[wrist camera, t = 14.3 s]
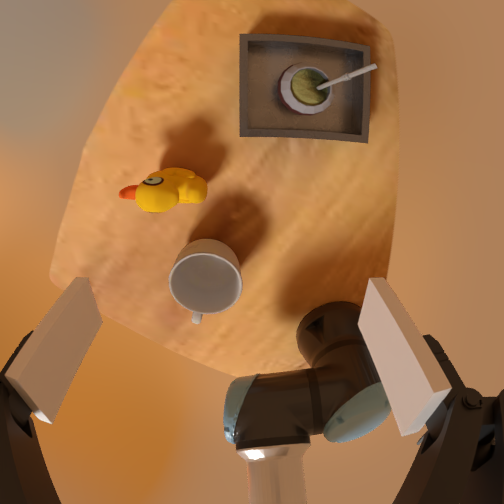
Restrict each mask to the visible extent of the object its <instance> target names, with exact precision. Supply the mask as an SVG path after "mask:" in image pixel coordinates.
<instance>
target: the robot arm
mask: <svg viewBox="0 0 504 504" xmlns="http://www.w3.org/2000/svg"><path fill="white" fill-rule="evenodd" d="M102 323H103V321H102V318H101V315H100V312H99V310H98V307H97V304H96V301H95V298H94V295H93V291H92V288H91V285H90V282H89V278H85V277H76V278H75V279H74V280H73V281H72V283H71V284H70V285H69V286H68V287H67V289H66V290H65V291H64V292H63V294H62V295H61V296H60V297H59V299H58V300H57V301H56V303H55V304H54V305H53V306H52V308H51V309H50V310H49V311H48V313H47V314H46V315H45V317H44V318H43V320H42V321H41V322H40V323H39V325H38V326H37V327H36V329H35V330H34V331H31V332H30V333H29V334H27V335H26V336H25V337H24V338H23V340H22V341H21V342H20V344H19V347H17V348H16V350H15V351H14V353H13V354H12V356H11V357H10V358H9V360H8V361H7V363H6V365H5V366H4V368H3V369H2V371H1V372H0V504H61V502H60V500H59V497H58V495H57V493H56V490H55V488H54V486H53V483H52V480H51V478H50V475H49V472H48V470H47V467H46V464H45V461H44V458H43V455H42V452H41V448H40V446H39V442H38V438H37V435H36V431H35V427H34V423H33V420H32V418H31V417H30V414H31V412H33V413H34V414H35V415H36V416H37V417H38V418H39V419H40V420H42V421H45V422H48V423H51V424H53V422H54V419H55V417H56V415H57V413H58V410H59V408H60V406H61V403H62V401H63V399H64V397H65V395H66V393H67V391H68V389H69V386H70V384H71V382H72V380H73V378H74V376H75V374H76V372H77V370H78V368H79V366H80V364H81V362H82V360H83V358H84V356H85V354H86V352H87V351H88V349H89V347H90V345H91V343H92V341H93V339H94V337H95V336H96V333H97V332H98V330H99V328H100V327H101V325H102ZM296 338H297V344H298V348H299V350H300V352H301V354H302V355H303V357H304V358H305V360H306V361H307V362H308V364H309V365H310V366H311V368H309V369H301V370H294V371H287V372H279V373H270V374H256V375H252V376H245V377H239V378H237V379H235V380H234V381H233V382H232V383H231V384H230V387H229V388H228V391H227V394H226V399H225V405H224V417H223V420H224V421H223V423H224V426H225V427H224V434H225V437H226V440H227V441H228V442H230V443H232V444H236V453H238V454H239V455H240V456H241V457H242V458H244V459H245V461H246V462H247V474H248V489H249V504H307V501H306V489H305V480H304V470H303V461H302V457H303V455H304V453H305V452H306V451H307V449H308V448H309V447H310V446H311V444H310V435H317V434H322V433H323V434H324V437H325V438H326V439H327V440H328V441H330V442H338V443H341V442H346V441H350V440H353V439H356V438H359V437H361V436H363V435H365V434H367V433H369V432H371V431H372V430H374V429H375V428H376V427H378V426H379V425H380V424H381V423H382V422H383V421H384V420H385V419H386V418H387V416H388V415H389V414H390V411H391V409H392V411H393V413H394V416H395V419H396V422H397V425H398V427H399V430H400V433H401V436H405V435H408V434H412V433H416V432H418V431H419V430H420V429H421V428H422V427H423V426H424V424H426V426H427V429H428V431H427V432H426V433H425V434H424V435H423V436H422V438H420V440H419V441H418V442H417V444H418V445H419V444H420V443H421V442H422V443H421V446H420V448H419V450H418V453H417V455H416V457H415V460H414V462H413V464H412V466H411V468H410V471H409V473H408V475H407V477H406V479H405V481H404V483H403V485H402V487H401V489H400V491H399V493H398V494H397V496H396V498H395V500H394V502H393V503H392V504H459V503H460V504H504V389H503V390H502V391H501V392H500V394H499V395H498V396H497V397H482V395H481V394H480V393H479V392H478V391H476V390H475V389H472V388H466V387H465V385H464V384H463V382H462V380H461V379H460V377H459V375H458V373H457V372H456V370H455V368H454V366H453V365H452V363H451V362H450V360H448V356H447V355H446V353H444V350H443V349H442V347H441V345H440V344H439V342H438V341H437V340H435V339H434V338H433V337H432V336H431V335H423V336H422V335H421V333H420V331H419V330H418V328H417V326H416V325H415V323H414V322H413V320H412V319H411V317H410V315H409V314H408V312H407V311H406V310H405V308H404V306H403V305H402V303H401V302H400V300H399V299H398V297H397V296H396V294H395V293H394V291H393V290H392V288H391V287H390V285H389V284H388V283H387V281H386V280H385V278H384V277H378V278H369V281H368V286H367V290H366V294H365V298H364V302H363V306H362V309H361V308H360V307H359V306H357V305H355V304H353V303H349V302H333V303H329V304H325V305H323V306H320V307H318V308H316V309H315V310H313V311H312V312H310V313H309V314H308V315H307V316H306V317H305V318H304V319H303V320H302V321H301V323H300V325H299V327H298V329H297V334H296Z"/></svg>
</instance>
